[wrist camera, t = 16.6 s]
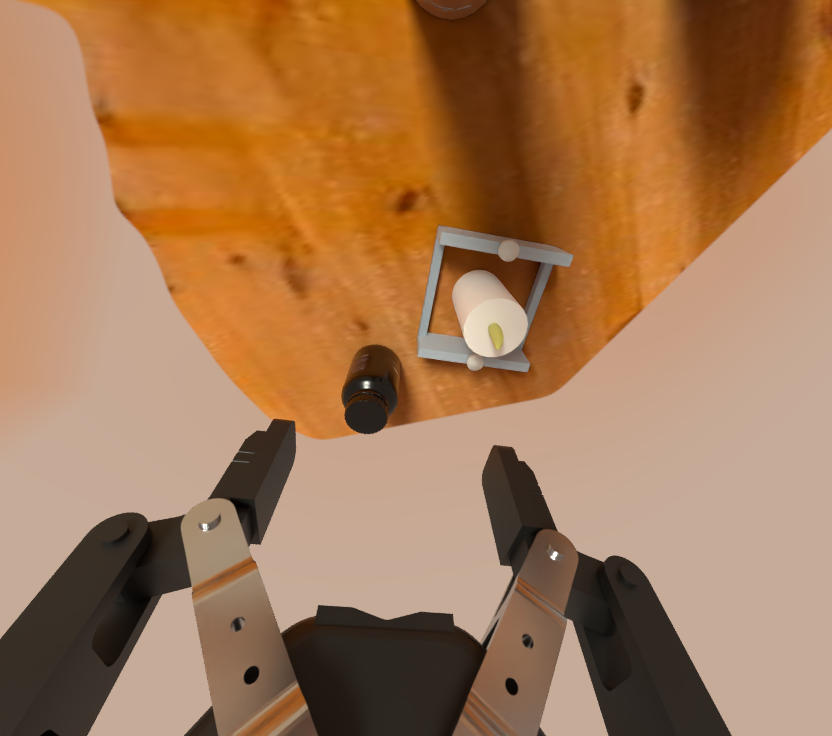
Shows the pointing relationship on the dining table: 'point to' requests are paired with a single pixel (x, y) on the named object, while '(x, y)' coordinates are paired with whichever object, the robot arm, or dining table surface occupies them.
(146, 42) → the dining table surface
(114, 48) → the dining table surface
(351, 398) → the supplement bottle
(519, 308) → the candle
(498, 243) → the holder
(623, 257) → the dining table surface
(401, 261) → the dining table surface
